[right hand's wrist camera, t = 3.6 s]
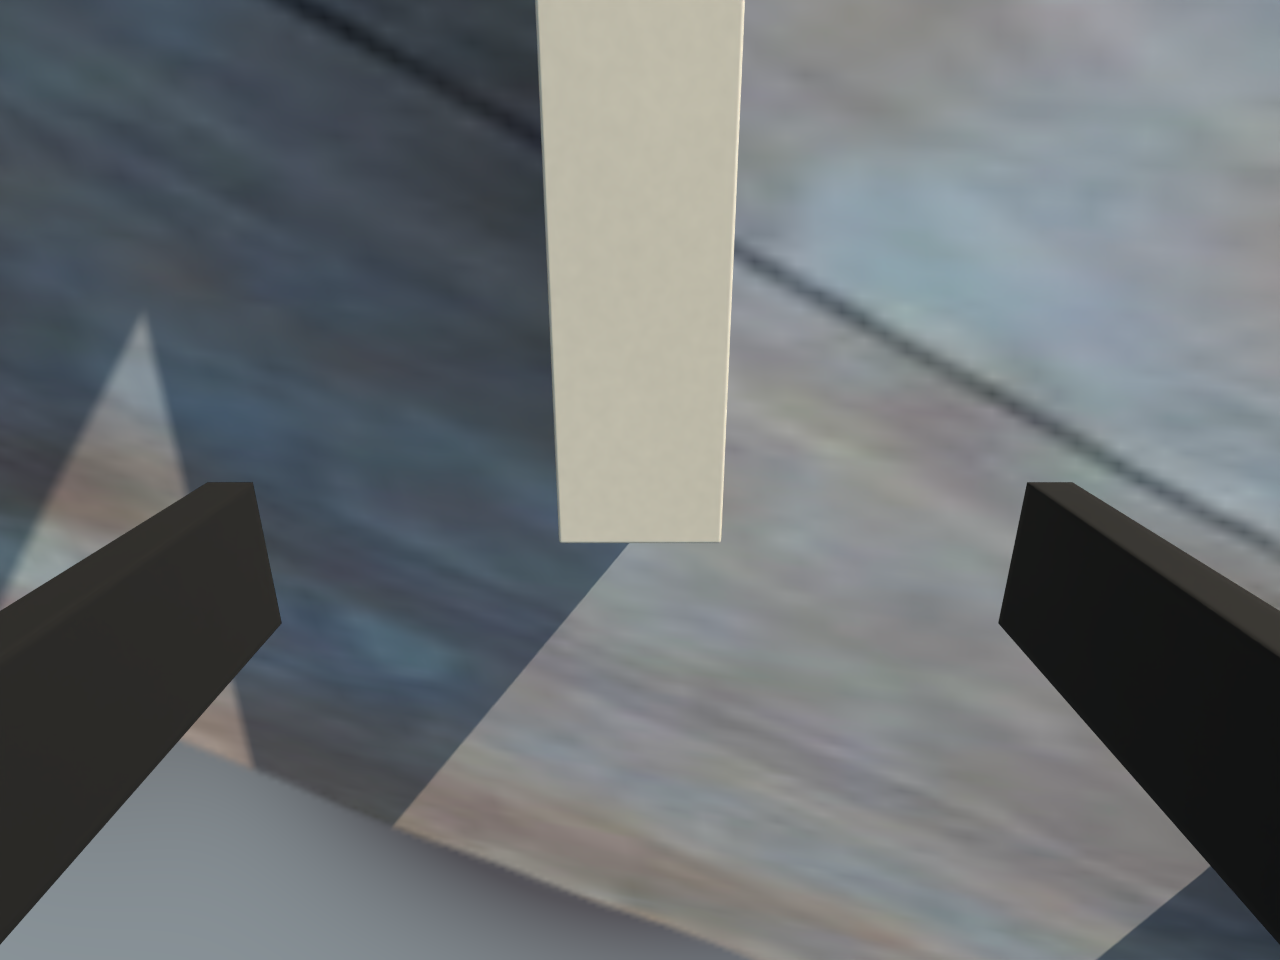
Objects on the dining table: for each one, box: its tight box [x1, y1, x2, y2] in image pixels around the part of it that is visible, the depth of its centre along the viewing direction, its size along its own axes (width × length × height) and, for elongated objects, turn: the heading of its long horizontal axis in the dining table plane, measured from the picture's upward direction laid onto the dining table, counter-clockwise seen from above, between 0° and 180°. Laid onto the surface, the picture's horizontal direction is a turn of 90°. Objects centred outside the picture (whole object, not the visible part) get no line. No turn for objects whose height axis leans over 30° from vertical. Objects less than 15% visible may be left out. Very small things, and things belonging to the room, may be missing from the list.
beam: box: [535, 0, 745, 543], centre depth 20 cm, size 30×5×8 cm, turn 0°
